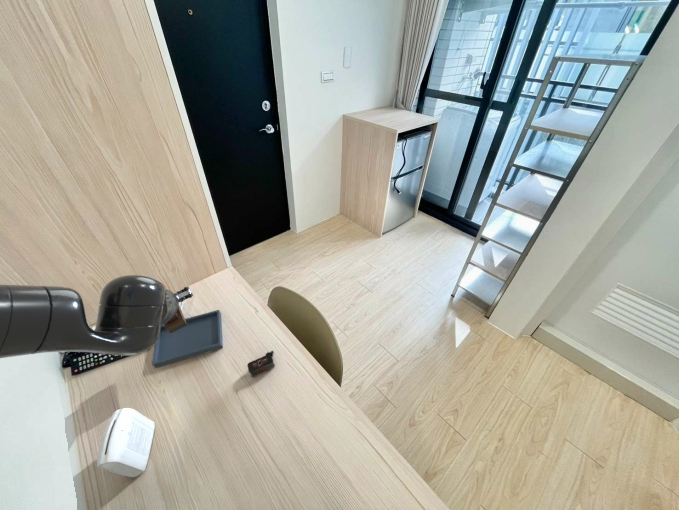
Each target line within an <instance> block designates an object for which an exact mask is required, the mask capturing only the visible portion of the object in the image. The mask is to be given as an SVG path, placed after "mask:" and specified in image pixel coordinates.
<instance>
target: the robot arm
mask: <svg viewBox="0 0 679 510" xmlns="http://www.w3.org/2000/svg"><path fill="white" fill-rule="evenodd" d="M193 297H194V294H193V292H192V291H191V289H190V286H184V287H183V288H182V289H180V290H178V291H176V292H172V291H171V290H170V289H167V287H166V286H165V285H164V284H163V283H162V282H160V281H159V280H157V279H156V278H154V277H150V276H146V275H139V274H128V275H122V276H118V277H115V278H113V279H111V280H110V281H108V282H107V283H106V284H105V285H104V287H103V288H102V290H101V293H100V297H99V301H98V302H99V303H98V304H99V305H98V308H97V315H96V321H95V327H94V329H92V328H91V327H90V325H89V323H88V321H87V320H88V319H87V315H86V309H85V305H84V300H83V298H82V295H81V294H80V293H79V292H78V291H77V290H76V289H73V288H70V287H66V286H59V285H56V286H55V285H54V286H53V285H27V284H26V285H24V284H0V359H5V358H12V357H20V356H29V355H36V354H45V353H61V352H62V353H63V352H64V353H65V352H67V353H69V352H75V353H94V354H102V355H111V356H123V357H126V356H127V357H128V356H129V357H130V356H136V355H140V354H143V353H145V352H147V351H148V350H150V349H152V348H153V347H155V344H156V342H157V341H158V339H159V336H160V330H161V326H162V325H164V324H165V323H167V322H168V321H169V320H171V319H172V318H173V317H174V315H175V314H176V312H177V309H178V304H179V303H183V302H184V301H186V300H187V299H192V298H193Z"/></svg>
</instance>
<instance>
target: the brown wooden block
mask: <svg viewBox="0 0 679 510" xmlns="http://www.w3.org/2000/svg"><path fill="white" fill-rule="evenodd" d="M184 315H185V314H184V313H183V310H182V308H181V306H180V304H179V303H178V309H177V312H176V314H175V315H174V317H173V318H172V319H171V320H169V321H168V322H167V323H165V324H164V325H165V327H166V329H167V330H168V331H169V333H170V334H171V333H173V332H175V331H176V330H178V329H180V328H182V327H184V326H186V325H187V323H186V320H185V319H186V318H185V316H184Z"/></svg>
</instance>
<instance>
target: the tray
mask: <svg viewBox="0 0 679 510" xmlns="http://www.w3.org/2000/svg"><path fill="white" fill-rule="evenodd" d="M185 320H186V323H187V325H186V326H184V327H182V328H180V329H178V330H176V331H175V332H173V333H171V334H170V333H169V331H168V330H167V329H166V327H165V325H162V326H161V330H160V336H159V339H158V341H157V342H156V344H155V345H154V349H153V355H152V363H151V365H152V366H153V367H154V368H156V369H157V368H161V367H165V366H167V365H170V364H173V363H177V362H181V361H183V360H187V359H191V358H194V357H197V356H200V355H204V354H206V353H210V352H214V351H218V350H220V349H223V348H224V343H223V326H222V325H223V324H222V323H223V322H222V313H221V310H220V309H216V310H212V311H209V312H205V313H201V314H198V315H194V316H190V317H187V318H185Z"/></svg>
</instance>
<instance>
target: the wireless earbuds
mask: <svg viewBox="0 0 679 510" xmlns="http://www.w3.org/2000/svg"><path fill="white" fill-rule="evenodd" d="M274 353H275V352H274V350H270V351H267V352H266V353H265V355H263V356H261V357H259V358H257V359H254V360H252V361H250V362H248V363H247V365H246V366H247V370H248V373H249V374H250V376H251V377H253V378H254V377H256V376H258V375H261V374H263V373H265V372H267V371H269V370H272V369H274V368H275V366H276V365H275V362H274V359H273V356H274Z"/></svg>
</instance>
